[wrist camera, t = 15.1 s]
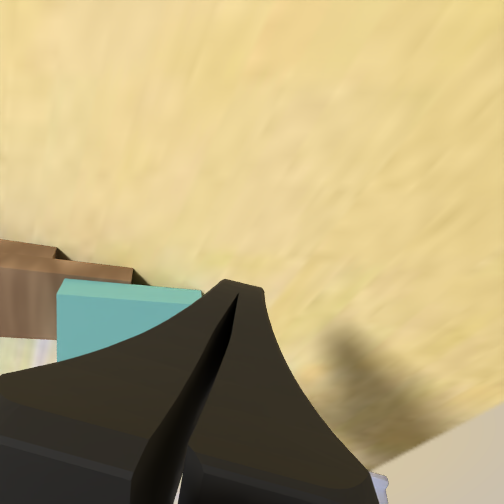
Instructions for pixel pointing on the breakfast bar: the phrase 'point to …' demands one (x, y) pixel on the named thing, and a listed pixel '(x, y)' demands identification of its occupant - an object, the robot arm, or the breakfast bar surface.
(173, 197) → the breakfast bar surface
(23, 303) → the walnut domino
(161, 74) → the breakfast bar surface
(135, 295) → the teal domino
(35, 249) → the walnut domino
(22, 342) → the breakfast bar surface
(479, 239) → the breakfast bar surface
